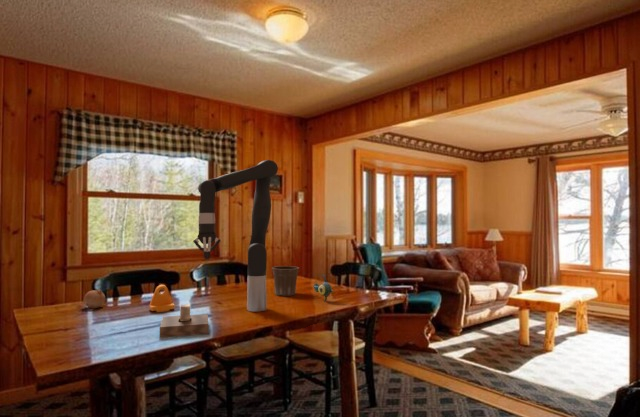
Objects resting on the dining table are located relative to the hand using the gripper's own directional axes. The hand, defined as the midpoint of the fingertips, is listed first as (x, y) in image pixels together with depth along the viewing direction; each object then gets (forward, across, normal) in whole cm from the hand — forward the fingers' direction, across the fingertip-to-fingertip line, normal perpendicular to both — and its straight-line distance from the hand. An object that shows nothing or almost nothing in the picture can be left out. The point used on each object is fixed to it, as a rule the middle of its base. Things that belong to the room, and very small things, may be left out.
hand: (207, 259), depth 185 cm
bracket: (+26, +21, -17) cm, 38 cm away
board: (+26, +10, +22) cm, 35 cm away
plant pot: (+27, -46, -38) cm, 66 cm away
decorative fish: (+28, -62, -14) cm, 69 cm away
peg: (+26, +10, +22) cm, 35 cm away
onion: (+26, +54, -32) cm, 67 cm away
